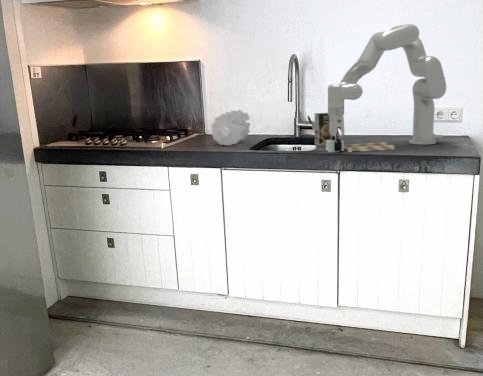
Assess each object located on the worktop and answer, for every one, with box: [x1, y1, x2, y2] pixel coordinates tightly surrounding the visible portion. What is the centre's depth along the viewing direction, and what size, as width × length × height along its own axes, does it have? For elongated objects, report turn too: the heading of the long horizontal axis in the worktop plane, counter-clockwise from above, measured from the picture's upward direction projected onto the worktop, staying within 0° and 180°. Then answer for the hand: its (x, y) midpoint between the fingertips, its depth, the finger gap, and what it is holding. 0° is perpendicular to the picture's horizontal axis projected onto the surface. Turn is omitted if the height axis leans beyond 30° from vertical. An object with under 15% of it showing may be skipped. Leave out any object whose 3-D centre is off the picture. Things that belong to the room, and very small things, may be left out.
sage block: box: [325, 139, 345, 153], centre depth 240 cm, size 7×6×5 cm
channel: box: [344, 141, 395, 153], centre depth 242 cm, size 22×10×2 cm, turn 96°
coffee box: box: [314, 112, 331, 147], centre depth 259 cm, size 9×6×16 cm
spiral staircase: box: [210, 109, 251, 146], centre depth 276 cm, size 18×18×25 cm
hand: (335, 149), depth 241 cm, fingers closed on sage block, 6 cm apart
